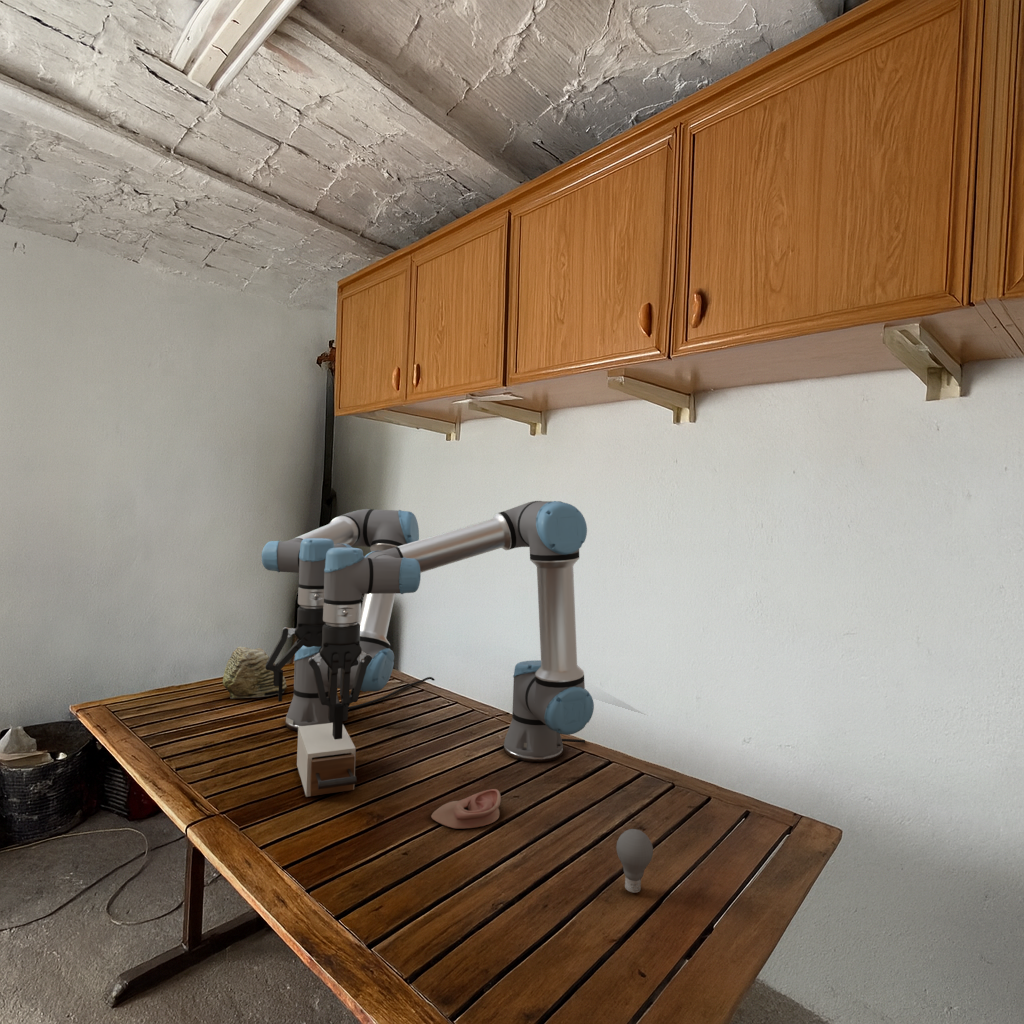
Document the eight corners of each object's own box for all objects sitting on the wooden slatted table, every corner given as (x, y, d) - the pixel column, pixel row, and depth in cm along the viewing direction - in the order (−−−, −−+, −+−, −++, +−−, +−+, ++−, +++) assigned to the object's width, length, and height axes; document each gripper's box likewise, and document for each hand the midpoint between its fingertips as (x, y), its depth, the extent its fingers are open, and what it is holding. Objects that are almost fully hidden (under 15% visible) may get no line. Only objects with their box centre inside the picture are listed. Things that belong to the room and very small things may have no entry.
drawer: (359, 802, 130) (360, 767, 130) (314, 809, 126) (315, 773, 126) (340, 760, 150) (341, 730, 150) (301, 766, 146) (302, 735, 146)
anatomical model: (426, 804, 124) (444, 779, 135) (425, 824, 124) (443, 798, 135) (492, 814, 121) (505, 787, 132) (491, 834, 121) (504, 806, 133)
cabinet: (354, 789, 138) (355, 748, 137) (306, 797, 133) (307, 754, 133) (340, 759, 153) (341, 721, 153) (296, 765, 149) (298, 726, 149)
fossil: (218, 695, 195) (220, 647, 195) (278, 685, 208) (279, 640, 207) (228, 703, 189) (230, 653, 188) (289, 692, 201) (290, 645, 201)
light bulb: (610, 879, 108) (613, 822, 108) (644, 879, 109) (647, 822, 109) (619, 902, 102) (622, 840, 102) (655, 901, 103) (658, 840, 103)
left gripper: (256, 609, 137) (252, 707, 138) (372, 607, 146) (368, 698, 146) (256, 604, 144) (253, 696, 145) (367, 602, 153) (364, 689, 154)
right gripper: (311, 628, 124) (306, 747, 124) (377, 625, 130) (372, 739, 130) (306, 620, 131) (302, 734, 131) (369, 618, 136) (365, 726, 137)
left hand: (311, 697), depth 146 cm, fingers open, 13 cm apart
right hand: (337, 736), depth 131 cm, fingers closed
